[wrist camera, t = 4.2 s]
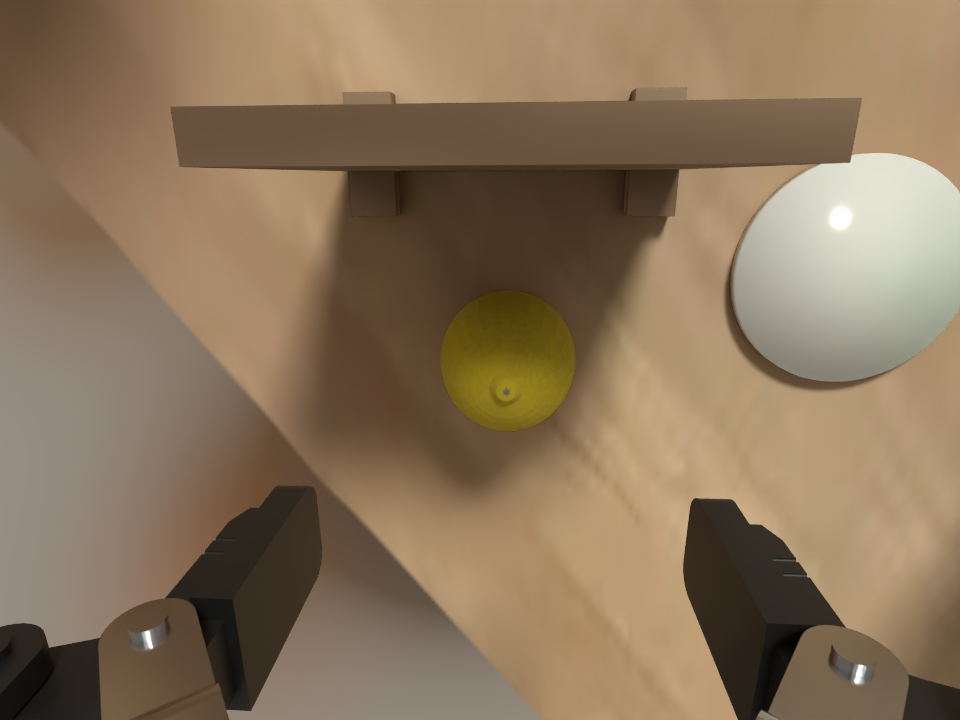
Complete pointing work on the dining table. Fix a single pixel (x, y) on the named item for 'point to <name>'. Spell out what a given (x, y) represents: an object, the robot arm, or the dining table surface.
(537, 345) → the lemon
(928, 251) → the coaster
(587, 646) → the dining table surface
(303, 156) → the walnut screen
